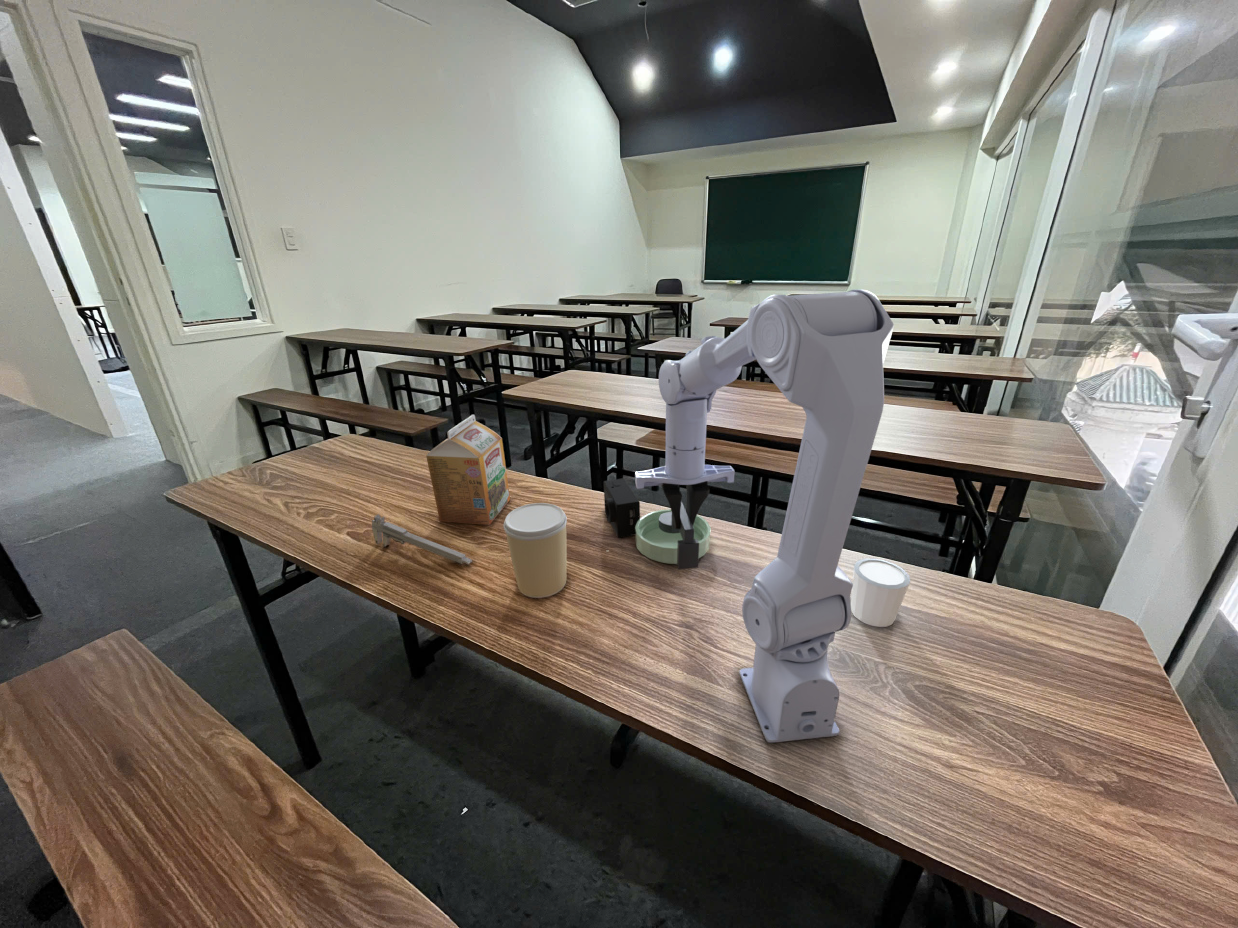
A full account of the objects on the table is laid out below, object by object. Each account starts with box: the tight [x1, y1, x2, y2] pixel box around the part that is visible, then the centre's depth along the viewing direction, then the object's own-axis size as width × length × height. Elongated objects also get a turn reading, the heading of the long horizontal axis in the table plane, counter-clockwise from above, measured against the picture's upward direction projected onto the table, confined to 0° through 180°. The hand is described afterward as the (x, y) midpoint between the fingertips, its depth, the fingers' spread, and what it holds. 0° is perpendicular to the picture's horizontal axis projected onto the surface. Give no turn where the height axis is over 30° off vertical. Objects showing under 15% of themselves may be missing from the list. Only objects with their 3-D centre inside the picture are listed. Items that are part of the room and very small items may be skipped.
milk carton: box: [425, 414, 511, 526], centre depth 95 cm, size 11×11×19 cm
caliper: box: [371, 513, 473, 565], centre depth 83 cm, size 20×1×6 cm, turn 70°
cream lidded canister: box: [503, 502, 568, 599], centre depth 74 cm, size 9×9×12 cm
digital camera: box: [603, 478, 641, 539], centre depth 91 cm, size 10×5×7 cm, turn 15°
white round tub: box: [850, 557, 911, 628], centre depth 66 cm, size 7×7×7 cm
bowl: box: [634, 508, 712, 565], centre depth 84 cm, size 13×13×4 cm
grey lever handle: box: [659, 500, 700, 570], centre depth 78 cm, size 15×5×7 cm, turn 5°
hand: (683, 525), depth 74 cm, fingers closed on grey lever handle
